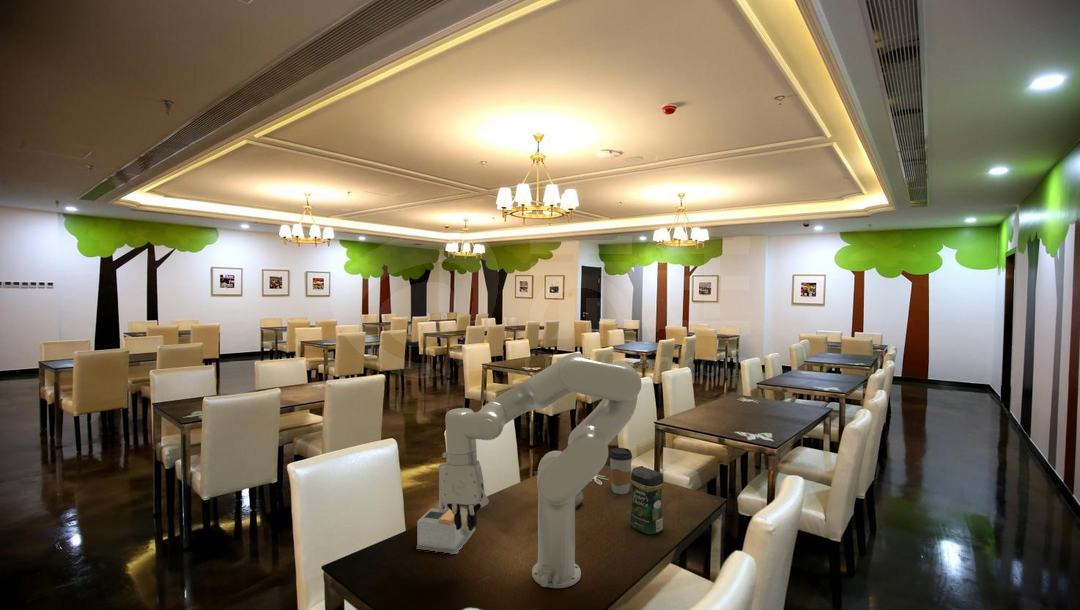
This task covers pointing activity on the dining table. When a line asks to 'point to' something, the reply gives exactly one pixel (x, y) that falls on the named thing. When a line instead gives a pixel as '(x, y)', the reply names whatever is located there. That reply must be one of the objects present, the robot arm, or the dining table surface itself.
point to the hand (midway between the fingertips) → (465, 527)
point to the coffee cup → (620, 470)
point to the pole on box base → (439, 528)
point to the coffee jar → (646, 500)
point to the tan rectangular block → (447, 518)
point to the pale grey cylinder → (464, 519)
